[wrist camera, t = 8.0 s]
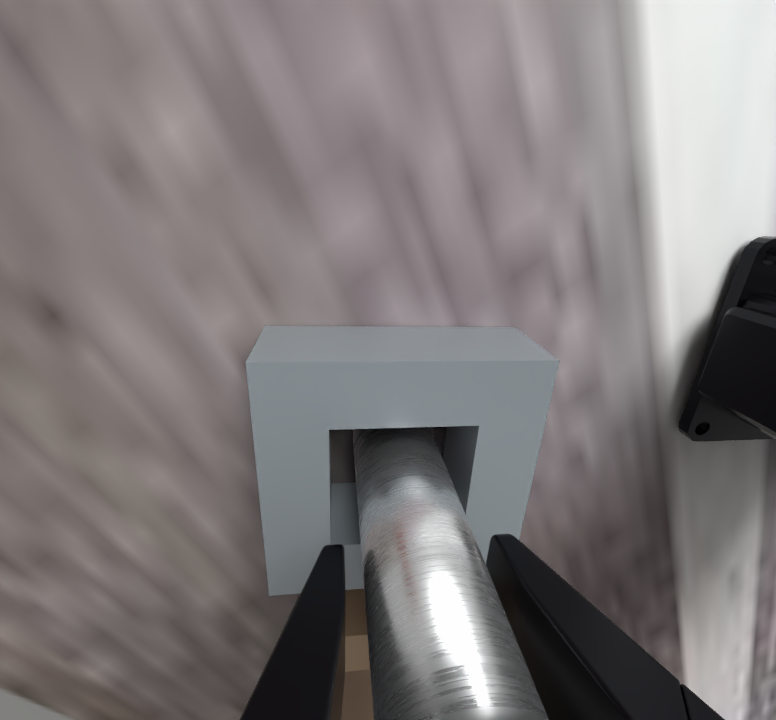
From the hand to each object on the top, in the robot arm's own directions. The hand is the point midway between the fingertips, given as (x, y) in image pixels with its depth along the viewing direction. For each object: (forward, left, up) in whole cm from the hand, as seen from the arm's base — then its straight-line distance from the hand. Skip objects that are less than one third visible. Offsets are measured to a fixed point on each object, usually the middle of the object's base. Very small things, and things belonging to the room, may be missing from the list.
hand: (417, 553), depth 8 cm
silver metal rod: (0, 0, -5) cm, 5 cm away
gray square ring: (0, 0, -4) cm, 4 cm away
